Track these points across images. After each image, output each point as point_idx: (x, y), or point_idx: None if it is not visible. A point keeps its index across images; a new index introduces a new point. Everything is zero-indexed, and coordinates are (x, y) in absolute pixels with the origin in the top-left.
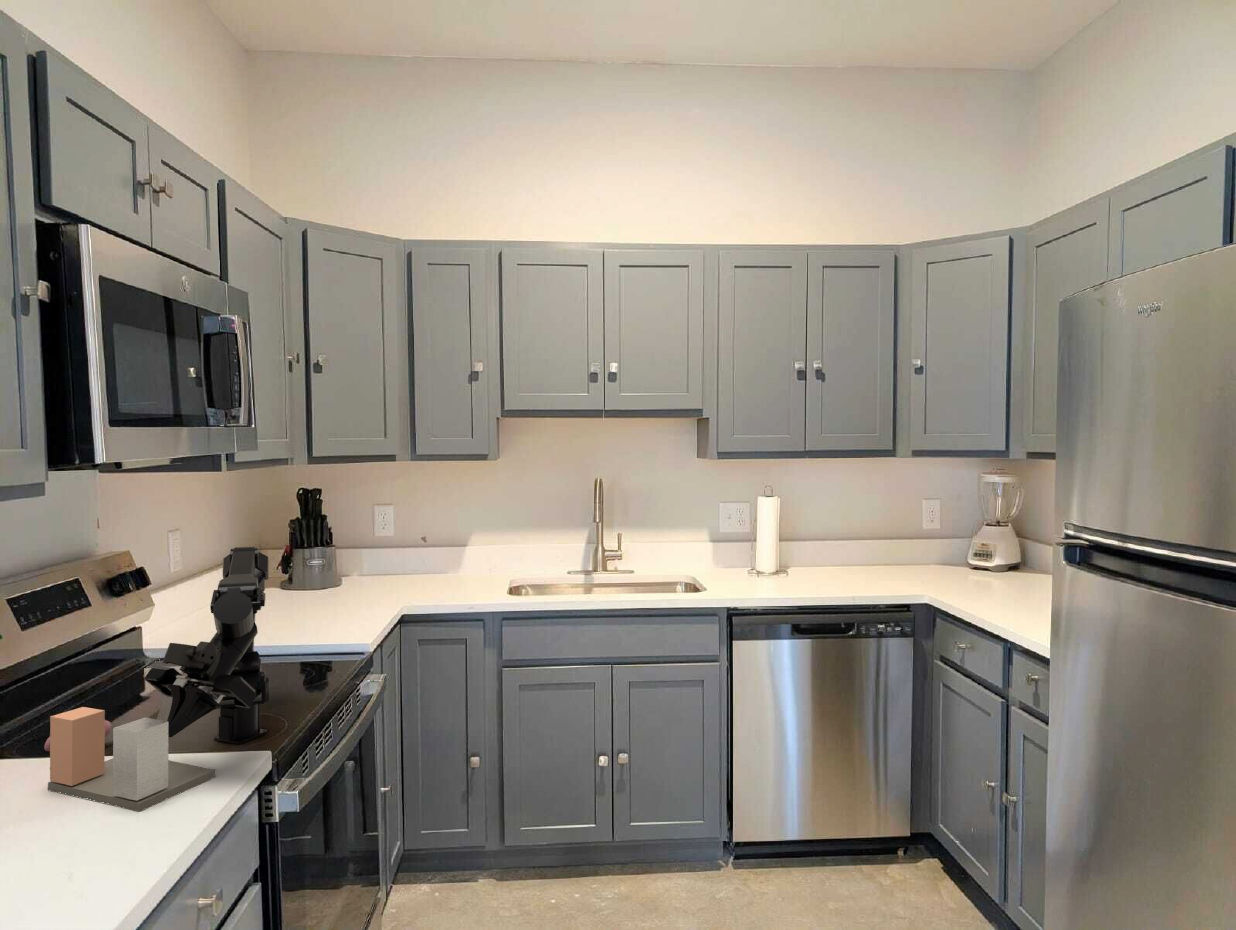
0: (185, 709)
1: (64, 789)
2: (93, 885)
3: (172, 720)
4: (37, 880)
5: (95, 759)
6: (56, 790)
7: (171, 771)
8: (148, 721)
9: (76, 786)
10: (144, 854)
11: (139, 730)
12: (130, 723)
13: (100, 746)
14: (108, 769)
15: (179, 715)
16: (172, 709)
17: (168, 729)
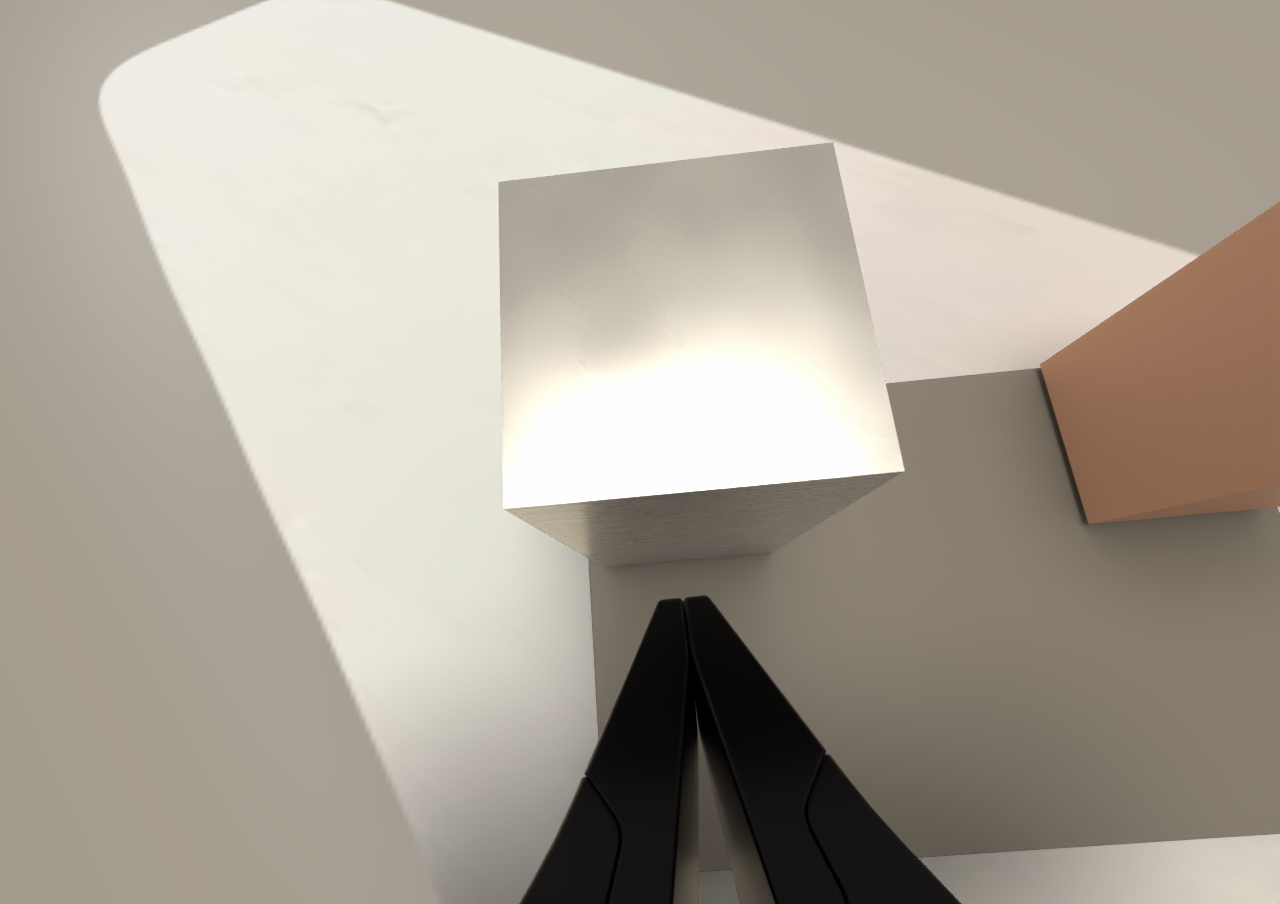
0: (555, 840)
1: None
2: (269, 118)
3: (704, 698)
4: (437, 66)
5: (1147, 449)
6: None
7: (813, 731)
8: (715, 406)
9: (1035, 386)
10: (276, 260)
11: (525, 216)
12: (826, 284)
13: (1228, 464)
14: (1159, 583)
15: (613, 746)
16: (810, 790)
17: (672, 622)
